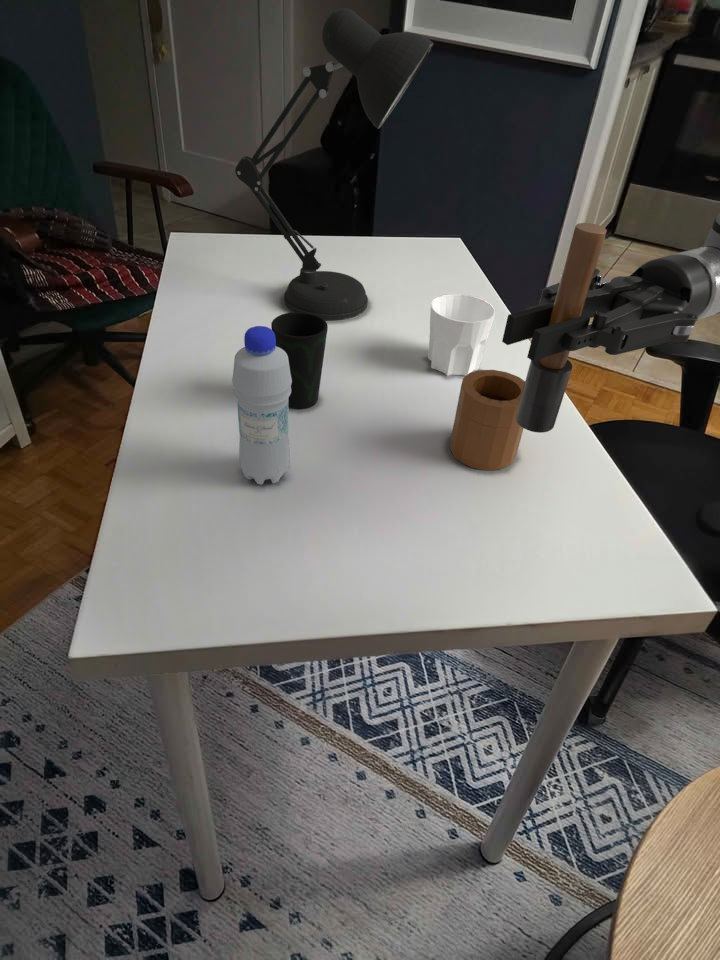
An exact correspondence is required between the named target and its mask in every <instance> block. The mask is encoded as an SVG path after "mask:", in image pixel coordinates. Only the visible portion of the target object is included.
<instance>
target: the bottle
mask: <svg viewBox="0 0 720 960" xmlns="http://www.w3.org/2000/svg"><path fill="white" fill-rule="evenodd" d="M243 341H244V346H243V347H242V348H240V349H238V351H236V353H235V355H234V358H233V369H232V379H231V383H232V386H233V394H234V396H235V398H236V402H237V403H236V404H237V417H238V432H239V446H238V447H239V448H238V455H239V456H238V457H239V458H238V459H239V465H240V469H241V471H242V473H243V475H244V477H245V478H246V479H247V480H253V479H254V481H255V482H256V484H257V485H264V482H265V480H270V482H271V483H272V484H277V483H278V482H279V481H280V479H281V478H282V477H285V476H287V474H288V473H289V472H290V471H289V470H290V466H291V446H290V445H291V443H290V436H289V435H290V433H289V431H290V429H289V427H290V425H289V424H290V423H289V422H290V421H289V415H290V414H289V413H290V411H289V407H288V397H289V396H290V394H291V383H292V378H291V374H290V367H289V360H288V356H287V354H286V352H285V351H284V350H282V349H281V348H279V347H276V338H275V334H274V332H273V331H272V328H270V327H268V326H264V325H256V326H252V327H249V328H248V329H247V330H246V331H245V333H244V336H243Z"/></svg>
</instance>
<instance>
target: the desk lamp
mask: <svg viewBox="0 0 720 960" xmlns="http://www.w3.org/2000/svg"><path fill="white" fill-rule="evenodd" d="M321 40H322V43H323V47H324V49H325V50H326V52H327V53H328V54H329V55H330V56H331V57H332V58H333V59H335V60H336V61H337V62H338V63H335V62H334V61H331V60H330V61H329V62H326V63H324V64H320V65H315V66H310V65H308V66H305V67H304V68H303V69H302V74H303V76H304V78H303V80H302V81H301V83H300V84H299V86H298V88H297V89H296V90H295V92H294V94H293V95H292V96H291V98H290V99H289V101H288V103H287V104H286V106H285V108H283V111H282V112H280V115H279V116H278V118H277V119H276V121H275V122H274V123H273V125H272V127H271V128H270V129H269V132H268V133H267V134H266V135H265V138H264V139H263V140H262V142H261V143H260V145H259V147H258V148H257V149H256V151H255V152H254V154H253V156H248V155H247V156H243V157H241V159H240V160H239V161H238V163H237V164H236V166H235V170H234V171H235V175H236V177H237V178H238V179H239V180H240V181H241V182H242V183H243V184H244V185H246V186H247V187H248V188H249V189H250V190H251V192H252V193H253V194H254V196H255V197H256V199H257V200H258V201H259V203H260V204H261V206H262V208H263V209H264V210H265V211H266V213H267V214H268V215H269V217H270V219H271V220H272V222H274V224H275V225H276V227H277V228H278V230H279V231H280V232H281V234H282V236H283V238H284V239H285V240H286V241H287V242H288V244H289V245H290V247H291V248H292V250H293V251H294V253H295V254H296V255H297V257H298V259H300V261H301V266H302V267H301V268H300V270H299V275H297V276H295V277H293V278H292V279H291V280H290V282H289V283H288V285H287V288H286V290H285V292H284V299H283V300H284V301H283V302H284V304H285V306H286V307H287V309H288V310H289V311H290V312H306V313H311V314H314V315H317V316H319V317H321V318H323V319H324V320H325V321H343V320H348V319H352V318H355V317H357V316H359V315H361V314H363V313H364V312H365V311H366V310H367V308H368V305H369V302H368V301H369V299H368V298H369V297H368V295H367V293H366V289H365V287H364V285H363V283H362V282H361V281H360V280H358V279H356V278H355V277H353V276H351V275H348V274H345V273H342V272H337V271H328V270H319V269H320V268H321V267H322V263H321V262H319V261H318V259H317V258H316V257H315V256H316V253H317V249H318V248H317V247H315V246H314V245H313V244H311V242H309V241H308V240H307V239H306V237H304V236H303V235H302V234H300V232H299V231H297V230H295V229H293V228H292V226H291V225H290V223H289V221H288V220H287V219H286V217H285V216H284V214H283V213H282V212H281V211H280V209H279V208H278V206H277V205H276V203H275V201H273V199H272V198H271V196H270V194H269V193H268V192H267V190H266V189H265V187H264V180H263V179H264V178H265V176H266V175H267V173H268V172H269V171H270V169H271V168H272V166H273V165H274V163H275V162H276V161H277V159H278V158H279V156H280V155H281V153H282V152H283V150H284V149H285V147H286V146H287V145H288V143H289V142H290V140H291V139H292V137H293V136H294V135H295V133H296V132H297V130H298V129H299V127H300V126H301V125H302V123H303V121H304V120H305V119H306V117H307V116H308V114H309V113H310V112H311V110H312V109H313V107H314V106H315V104H316V102H317V101H318V99H319V98H321V99H325V98H326V97H328V96H329V88H330V85H331V80H332V77H333V74H334V73H333V72H334V71H336V70H338V69H341V68H343V67H344V68H345V69H346V70H347V71H348V72H349V73H351V74H352V75H353V76H354V77H355V78H356V79H355V80H356V84H357V91H358V95H359V99H360V103H361V107H362V109H363V110H364V113H365V115H366V116H367V118H368V120H369V121H370V122H371V123H372V125H373V126H374V127H375V128H376V129H377V130H380V128H381V127H383V124H384V123H385V122H386V120H387V119H388V118H389V117H390V115H391V113H392V112H393V111H394V109H395V108H396V106H397V104H398V103H399V102H400V100H401V99H402V97H403V96H404V94H405V92H406V91H407V89H408V87H409V86H410V85H411V83H412V81H413V80H414V78H415V77H416V75H417V73H418V72H419V70H420V69H421V67H422V65H423V64H424V62H425V60H426V59H427V58H428V55H429V54H430V52H431V50H432V48H433V46H434V42H433V41H432V40H430V39H429V38H427V37H425V36H423V35H421V34H418V33H414V32H408V31H406V32H393V33H387V34H386V33H385V34H381V33H380V32H379V31H377V30H376V28H374V27H373V26H372V25H370V24H369V23H368V22H366V21H365V20H364V19H363V18H362V17H361V16H359V15H358V14H357V13H356V12H355V11H353V10H352V9H349V8H346V7H344V8H343V7H342V8H337V9H335V10H333V11H332V12H331V13H330V14H328V16H327V18H326V19H325V21H324V24H323V27H322V31H321ZM309 83H311V84H312V85H313V87H314V88H315V89H316V91H315V92H314V94H313V96H312V97H311V98H310V100H309V102H308V103H307V104H306V105H305V107H304V108H303V110H302V111H301V113H300V114H299V116H298V117H297V119H296V120H295V122H293V123H294V124H293V125H292V126H291V127H290V129H289V131H288V132H287V134H286V135H285V137H284V138H283V139H282V140H281V141H280V142H278V143H277V144H276V145H274V146H273V147H272V148H270V149H268V151H266V152H265V153H263V152H264V151H265V149H266V147H267V146H268V144H269V143H270V141H271V140H272V139H273V137H274V136H275V134H276V133H277V131H278V129H279V128H280V126H281V125H282V123H283V122H284V121H285V119H286V118H287V116H288V115H289V113H290V112H291V110H292V108H294V105H295V104H296V102H297V101H298V100H299V98H300V97H301V95H302V93H303V92H304V90H305V89H306V87H307V86H308V84H309ZM271 155H272V156H271ZM270 156H271V157H270ZM269 157H270V159H269V160H268V162H266V165H265V166H264V167H263V169H262V170H261V171H259V169H258V167H257V166H258V165H260V163H262V162H263V161H264V160H266V159H267V158H269ZM302 241H304V243H306V245H308V246H309V247H310V248H311V250H310V251H309V250H308V249H307V247H306V246H305V245H304V243H303V242H302Z"/></svg>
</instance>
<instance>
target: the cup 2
mask: <svg viewBox="0 0 720 960" xmlns="http://www.w3.org/2000/svg"><path fill="white" fill-rule="evenodd" d="M429 311H430V313H429V315H430V316H429V339H428V340H429V341H428V353H427V356H428V357H427V359H428V360H429V361H430V362H431V364H430V369H433V370H437V371H439V372H441V373H443V374H444V375H446V377H449V376H464V377H465V376H466V375H468V374H469V373H471V372H474V371H478V370H480V369H479V368H480V365H481V362H482V359H483V356H484V352H485V349H486V345H487V341H488V338H489V335H490V332H491V329H492V325H493V322H494V319H495V315H496V309H495V307H494V306H493V305H492V304H491V303H490V302H488V301H486V300H485V299H482V298H480V297H478V296H474V295H470V294H462V293H452V294H451V293H448V294H443V295H439V296H437V297H435V298H433V299H432V300H431V302H430V310H429Z"/></svg>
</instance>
